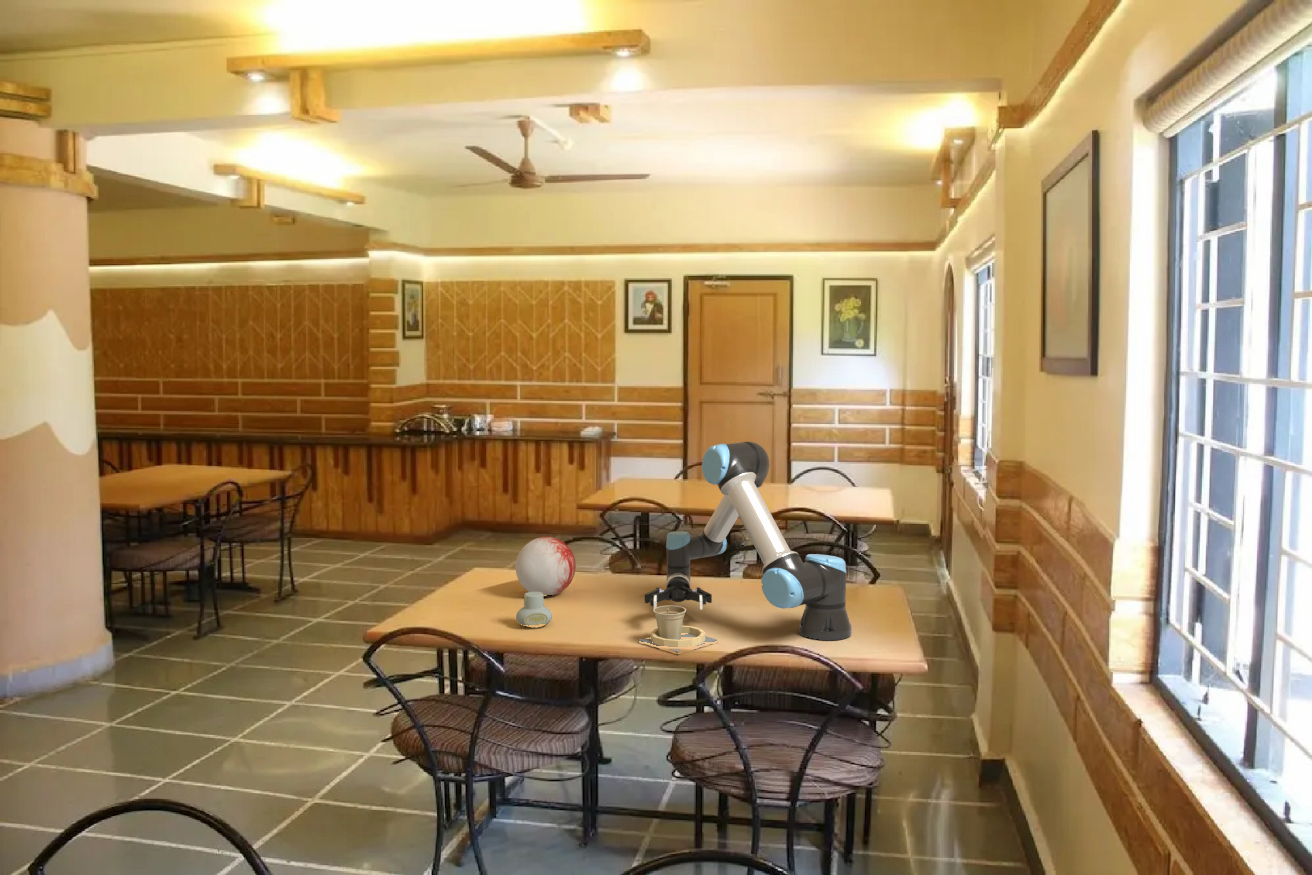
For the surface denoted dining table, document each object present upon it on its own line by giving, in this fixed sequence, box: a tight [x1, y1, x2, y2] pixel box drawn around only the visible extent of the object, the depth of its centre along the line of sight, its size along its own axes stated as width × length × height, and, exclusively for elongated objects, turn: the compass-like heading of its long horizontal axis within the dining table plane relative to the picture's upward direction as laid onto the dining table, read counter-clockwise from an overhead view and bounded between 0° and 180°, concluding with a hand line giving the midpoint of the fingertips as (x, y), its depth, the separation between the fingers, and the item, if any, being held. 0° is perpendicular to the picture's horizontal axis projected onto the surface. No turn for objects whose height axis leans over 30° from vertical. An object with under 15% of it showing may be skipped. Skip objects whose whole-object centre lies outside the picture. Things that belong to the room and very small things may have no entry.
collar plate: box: [638, 625, 718, 653], centre depth 296 cm, size 16×16×3 cm
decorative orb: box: [515, 536, 577, 596], centre depth 351 cm, size 21×20×20 cm
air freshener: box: [515, 591, 553, 626], centre depth 315 cm, size 11×8×10 cm
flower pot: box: [652, 604, 687, 640], centre depth 296 cm, size 9×9×9 cm
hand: (678, 605), depth 305 cm, fingers open, 13 cm apart
